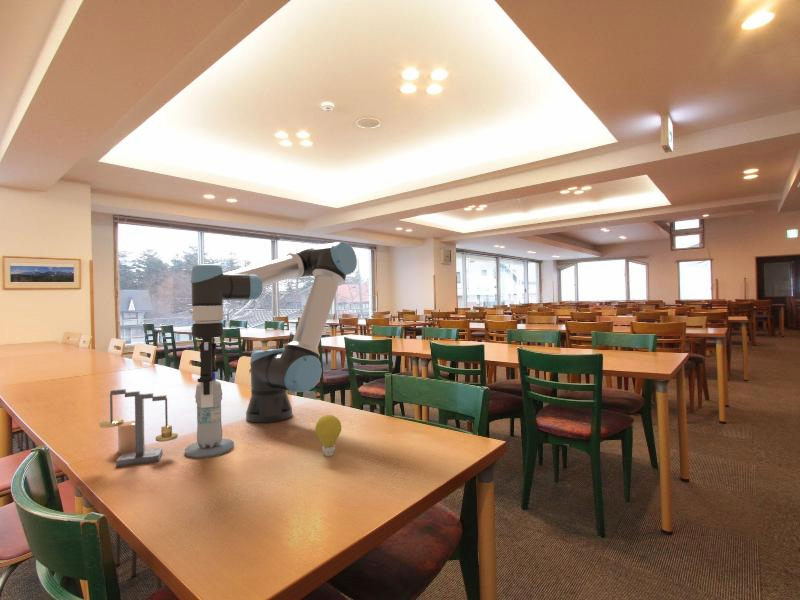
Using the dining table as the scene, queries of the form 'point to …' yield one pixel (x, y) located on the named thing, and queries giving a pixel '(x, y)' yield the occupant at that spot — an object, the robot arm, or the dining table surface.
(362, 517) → the dining table surface
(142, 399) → the balance
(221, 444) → the dish
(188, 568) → the dining table surface
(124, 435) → the peach rounded capsule
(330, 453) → the light bulb
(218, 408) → the bottle
